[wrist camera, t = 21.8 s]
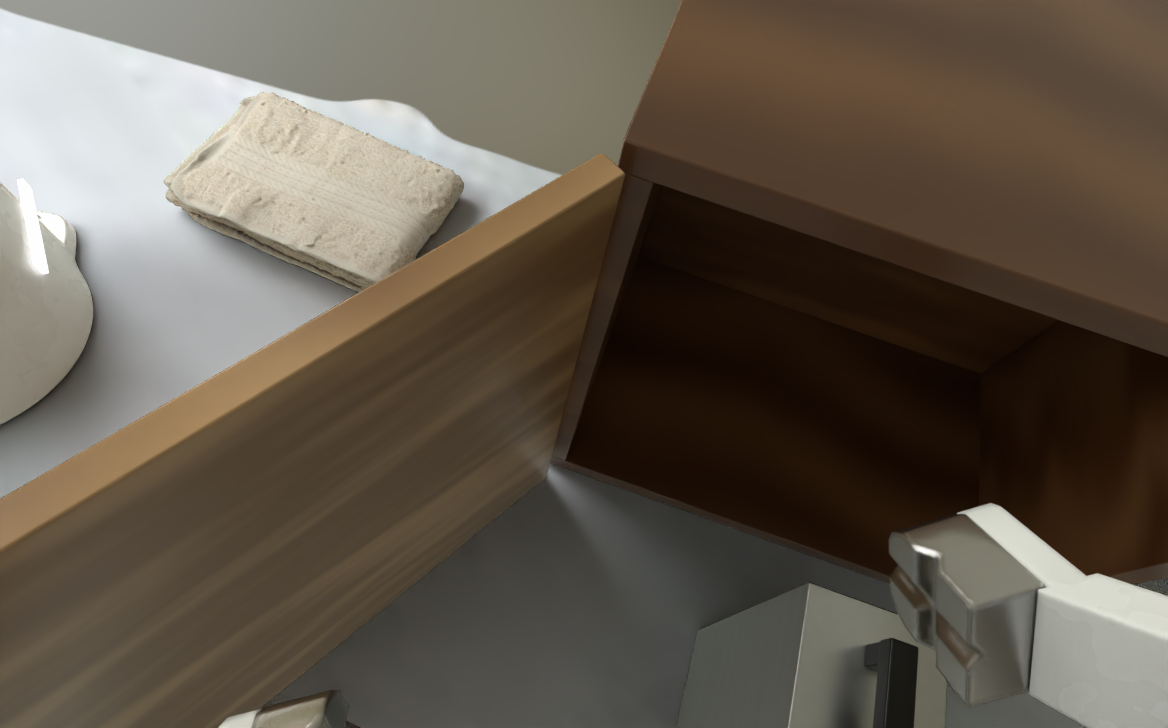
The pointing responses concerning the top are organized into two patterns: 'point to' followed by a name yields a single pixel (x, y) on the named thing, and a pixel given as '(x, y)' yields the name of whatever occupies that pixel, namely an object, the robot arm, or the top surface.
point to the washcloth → (314, 192)
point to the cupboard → (892, 277)
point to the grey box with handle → (812, 668)
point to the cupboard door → (300, 481)
